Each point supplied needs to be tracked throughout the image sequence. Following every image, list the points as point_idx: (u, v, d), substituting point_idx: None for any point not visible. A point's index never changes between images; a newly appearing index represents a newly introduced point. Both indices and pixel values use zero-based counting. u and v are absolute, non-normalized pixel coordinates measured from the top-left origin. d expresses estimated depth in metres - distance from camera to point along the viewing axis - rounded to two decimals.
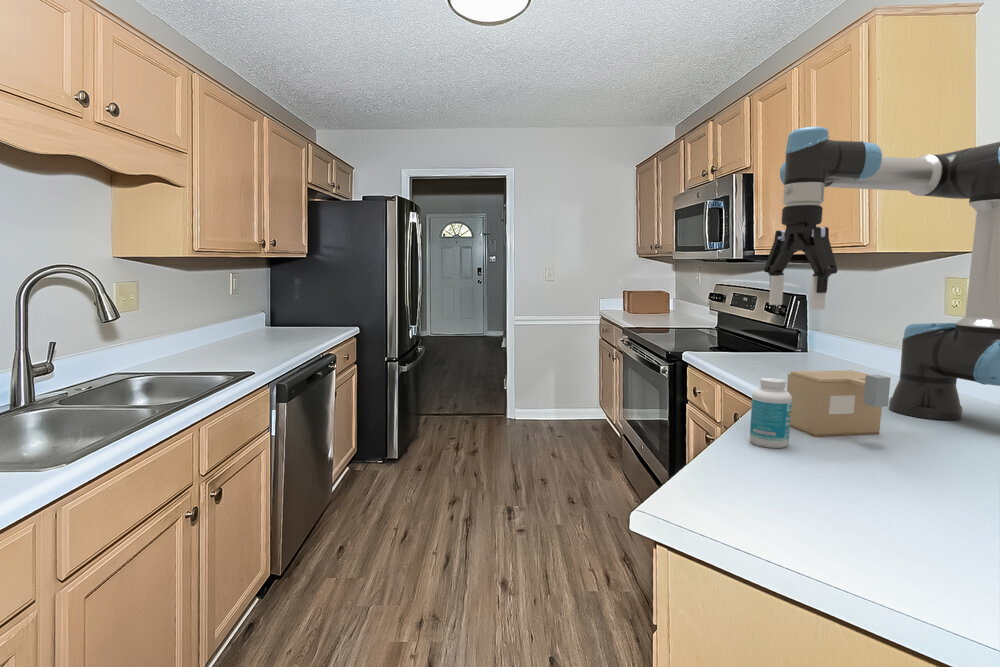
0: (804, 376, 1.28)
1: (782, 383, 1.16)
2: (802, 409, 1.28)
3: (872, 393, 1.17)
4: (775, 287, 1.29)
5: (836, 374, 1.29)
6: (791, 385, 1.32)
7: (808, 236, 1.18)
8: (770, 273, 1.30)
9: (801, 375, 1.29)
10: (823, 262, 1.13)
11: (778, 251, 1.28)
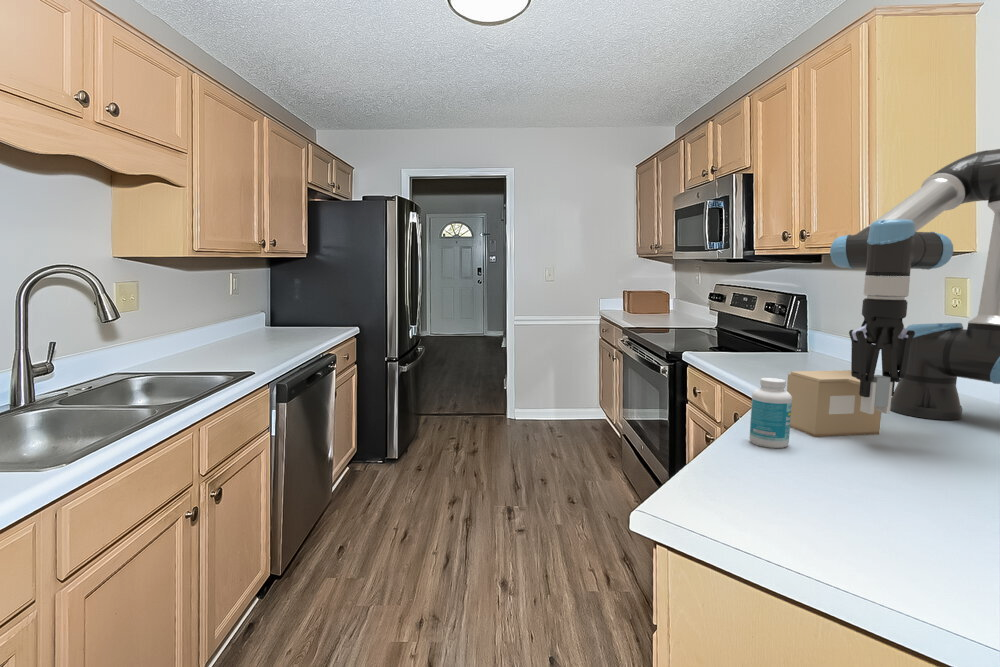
0: (804, 376, 1.28)
1: (782, 383, 1.16)
2: (802, 409, 1.28)
3: None
4: None
5: (836, 374, 1.29)
6: (791, 385, 1.32)
7: None
8: None
9: (801, 375, 1.29)
10: None
11: (898, 350, 1.18)
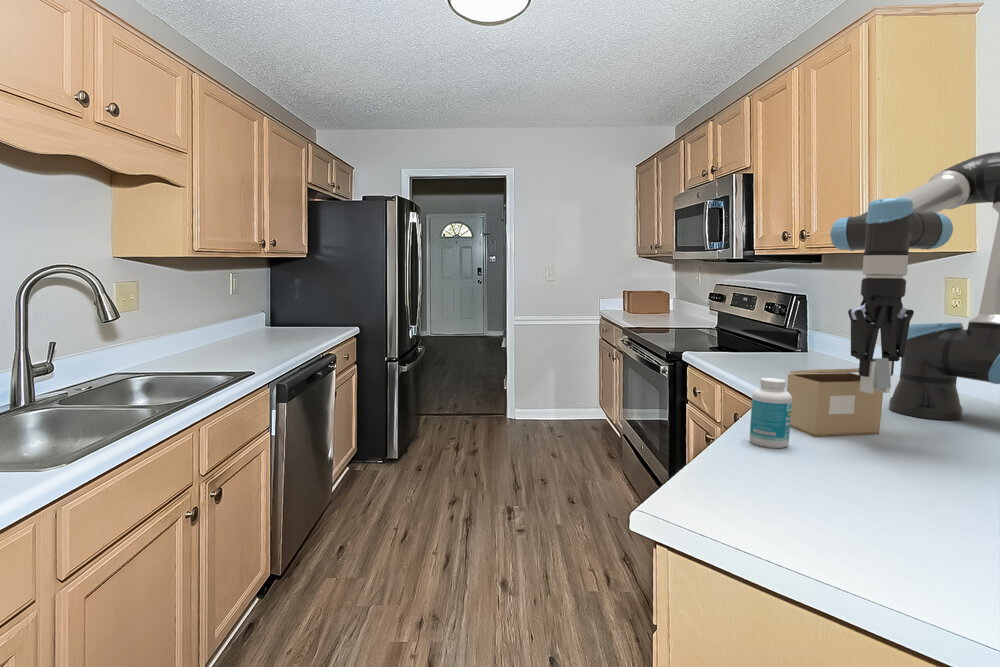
0: (804, 371, 1.28)
1: (782, 383, 1.16)
2: (802, 409, 1.28)
3: None
4: None
5: None
6: (791, 385, 1.32)
7: None
8: None
9: (801, 371, 1.29)
10: None
11: (897, 330, 1.18)
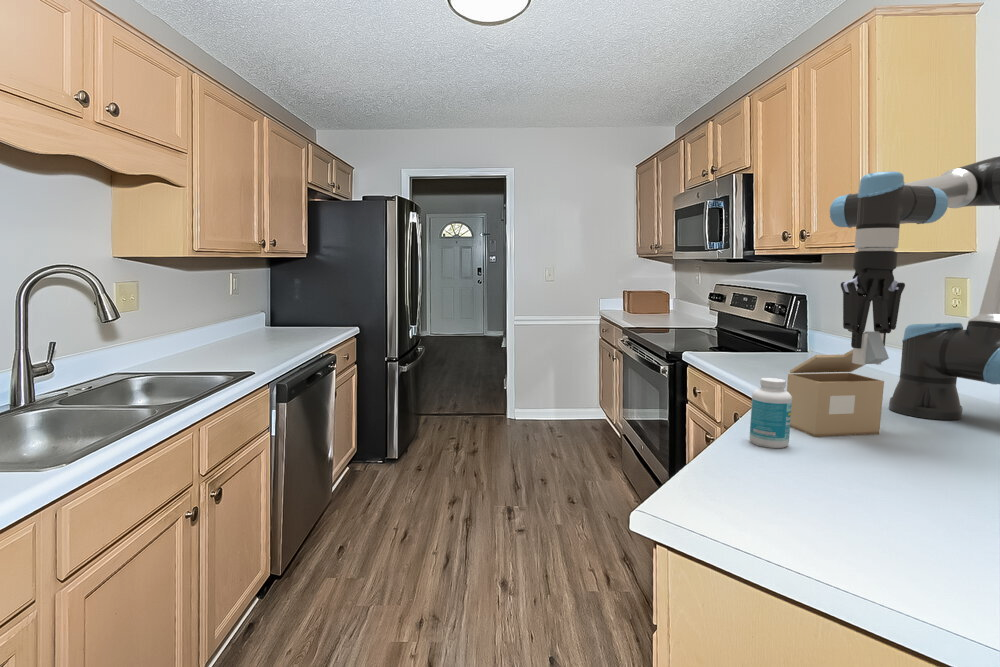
0: (802, 364, 1.29)
1: (782, 383, 1.16)
2: (802, 409, 1.28)
3: (868, 348, 1.18)
4: None
5: None
6: (791, 385, 1.32)
7: None
8: None
9: (799, 365, 1.29)
10: None
11: (889, 303, 1.20)
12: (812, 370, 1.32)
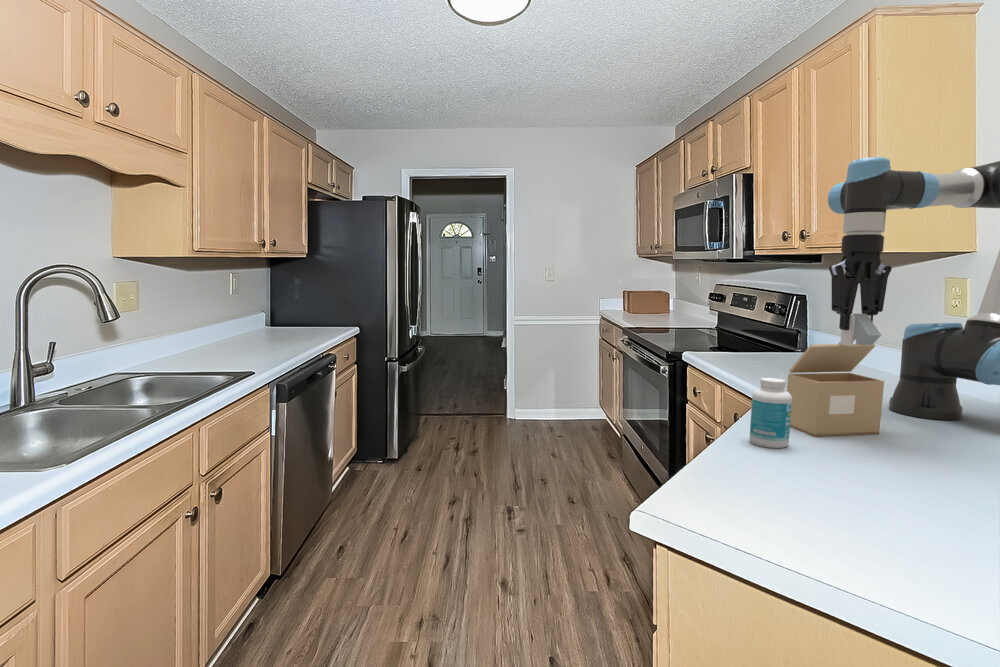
0: (799, 359, 1.29)
1: (782, 383, 1.16)
2: (802, 409, 1.28)
3: (859, 328, 1.21)
4: None
5: None
6: (791, 385, 1.32)
7: None
8: None
9: (797, 361, 1.30)
10: None
11: (876, 286, 1.24)
12: (811, 367, 1.32)
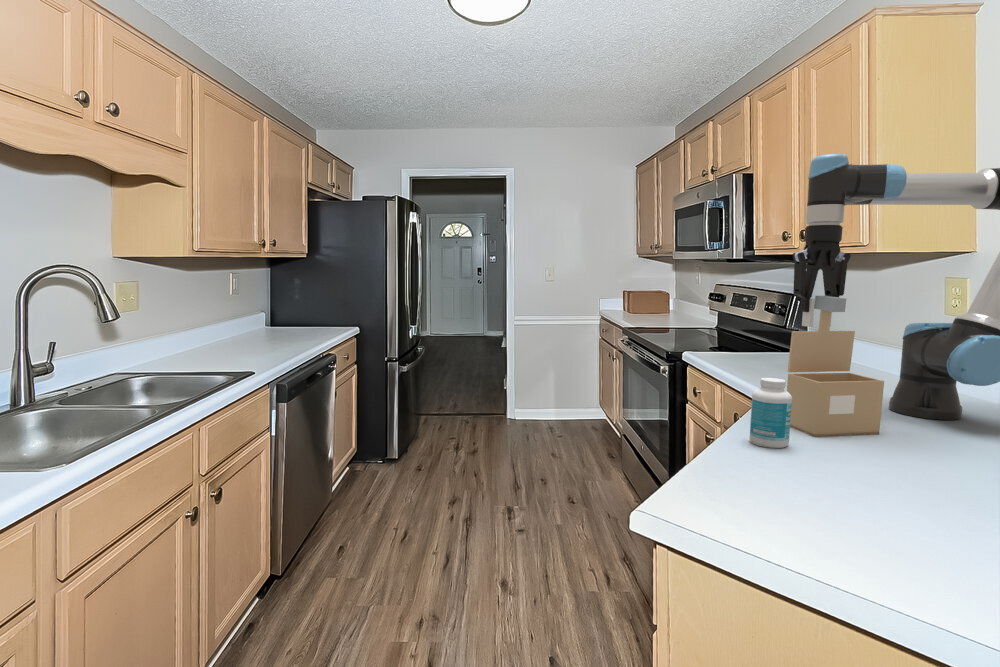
0: (790, 352, 1.32)
1: (782, 383, 1.16)
2: (802, 409, 1.28)
3: (825, 300, 1.30)
4: None
5: None
6: (791, 385, 1.32)
7: None
8: None
9: (789, 356, 1.33)
10: None
11: (837, 272, 1.35)
12: (807, 364, 1.33)
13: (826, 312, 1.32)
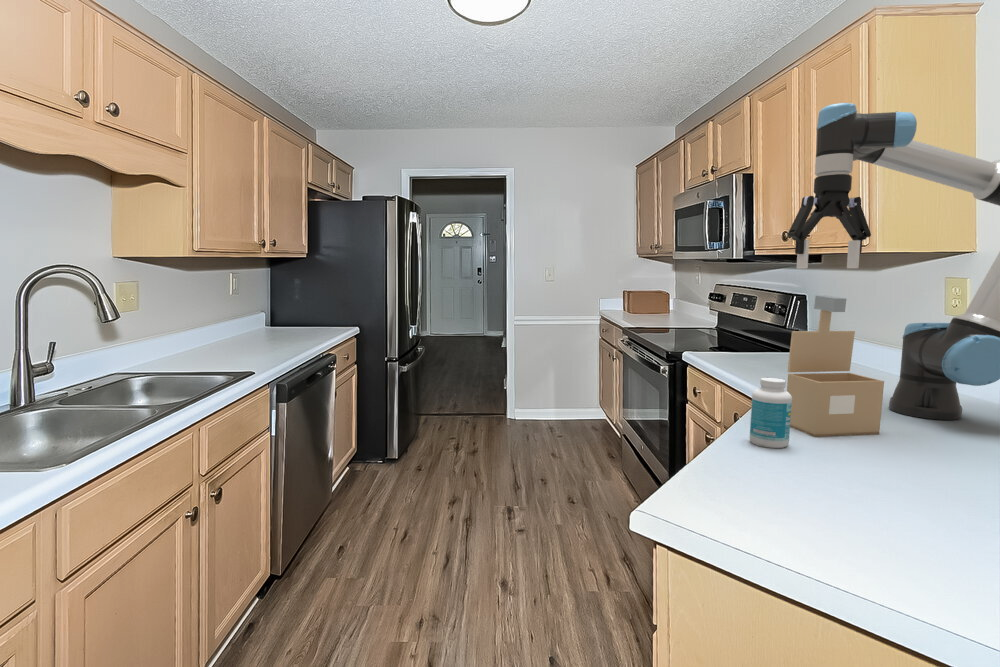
0: (790, 352, 1.32)
1: (782, 383, 1.16)
2: (802, 409, 1.28)
3: (825, 300, 1.30)
4: (850, 252, 1.37)
5: None
6: (791, 385, 1.32)
7: (814, 204, 1.34)
8: None
9: (789, 356, 1.33)
10: None
11: (855, 217, 1.35)
12: (807, 364, 1.33)
13: (826, 312, 1.32)
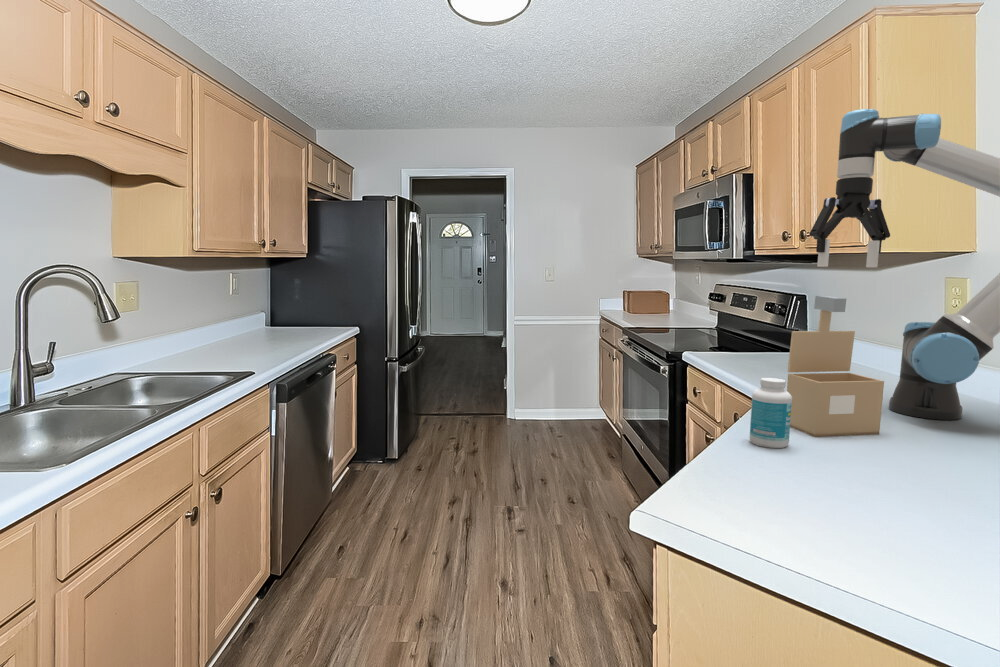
0: (790, 352, 1.32)
1: (782, 383, 1.16)
2: (802, 409, 1.28)
3: (825, 300, 1.30)
4: (869, 251, 1.43)
5: None
6: (791, 385, 1.32)
7: (835, 205, 1.40)
8: None
9: (789, 356, 1.33)
10: None
11: (875, 218, 1.41)
12: (807, 364, 1.33)
13: (826, 312, 1.32)
